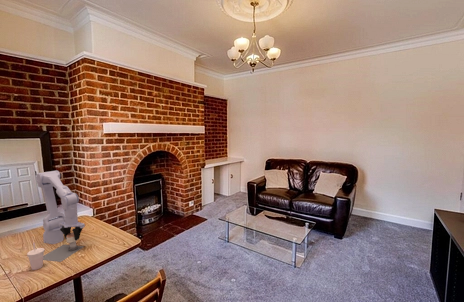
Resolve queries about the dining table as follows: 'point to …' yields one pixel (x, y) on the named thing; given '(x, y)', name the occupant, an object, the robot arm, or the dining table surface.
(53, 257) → the knob mounting plate
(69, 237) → the cap
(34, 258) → the smoothie
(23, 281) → the dining table surface
